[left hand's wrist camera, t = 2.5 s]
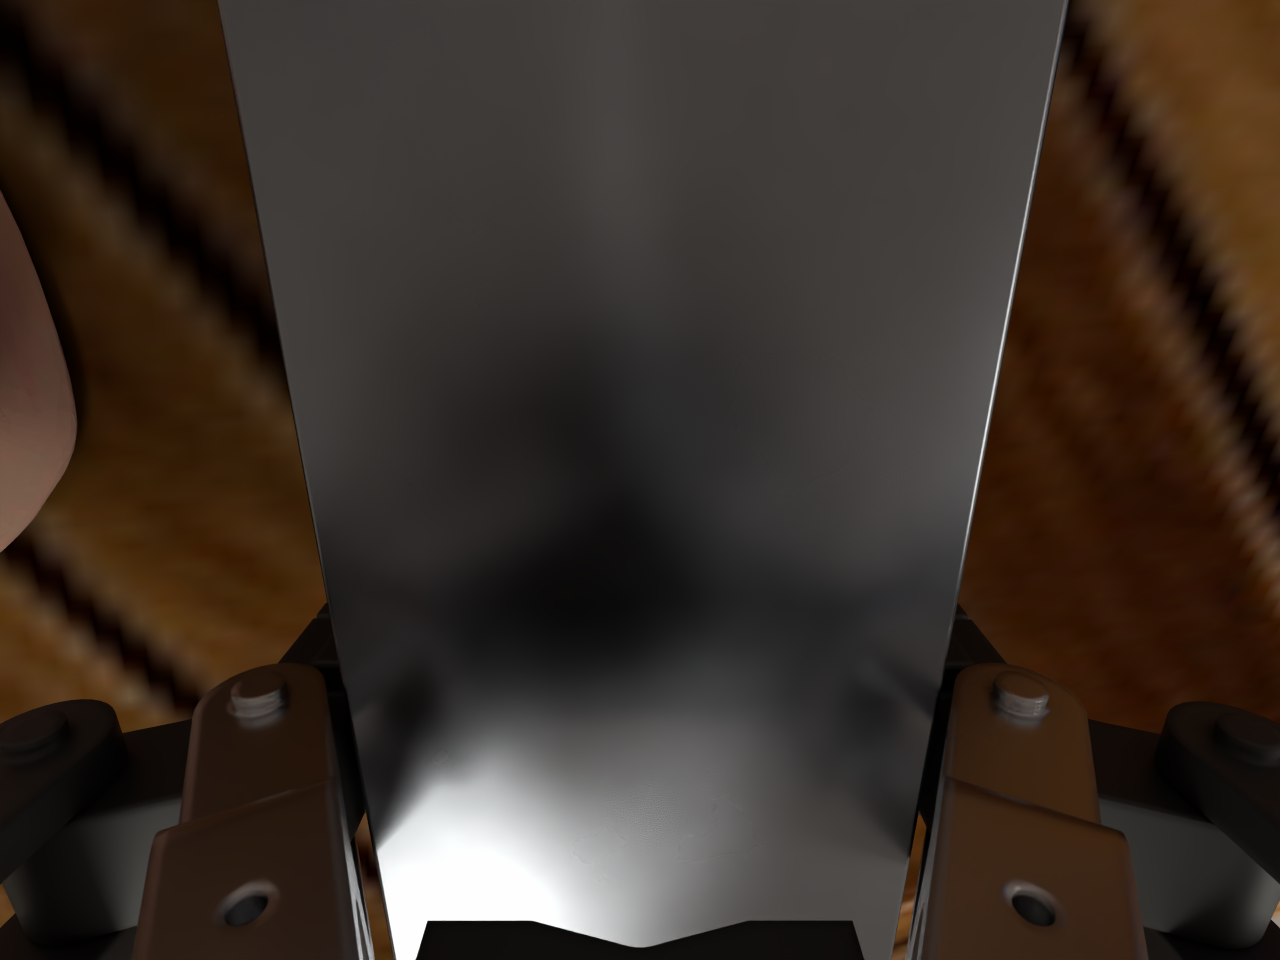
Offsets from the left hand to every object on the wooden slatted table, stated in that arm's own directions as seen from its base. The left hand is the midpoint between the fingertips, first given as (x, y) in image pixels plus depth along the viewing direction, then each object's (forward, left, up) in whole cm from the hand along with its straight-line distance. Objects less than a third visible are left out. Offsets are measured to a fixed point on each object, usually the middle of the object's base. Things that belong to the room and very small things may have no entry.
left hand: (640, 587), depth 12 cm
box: (+4, +8, -5) cm, 10 cm away
